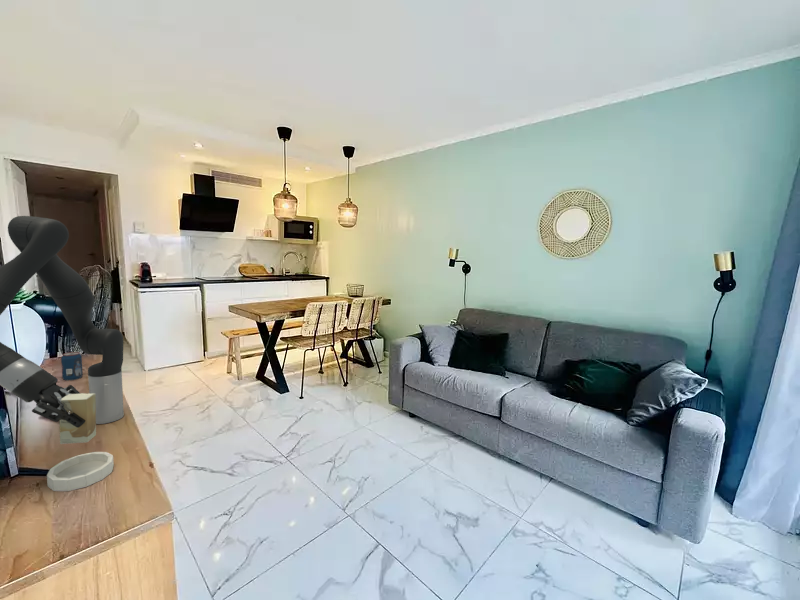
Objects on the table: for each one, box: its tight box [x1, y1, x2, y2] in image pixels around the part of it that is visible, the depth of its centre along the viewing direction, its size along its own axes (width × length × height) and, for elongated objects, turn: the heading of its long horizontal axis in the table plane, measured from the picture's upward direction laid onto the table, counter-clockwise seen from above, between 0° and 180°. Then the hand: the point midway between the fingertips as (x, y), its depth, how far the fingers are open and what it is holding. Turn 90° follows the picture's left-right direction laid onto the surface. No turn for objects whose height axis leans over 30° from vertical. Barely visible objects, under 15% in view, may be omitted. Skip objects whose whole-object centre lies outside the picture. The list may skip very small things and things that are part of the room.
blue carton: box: [60, 351, 84, 382], centre depth 163 cm, size 7×7×12 cm
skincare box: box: [58, 392, 97, 445], centre depth 94 cm, size 6×4×12 cm
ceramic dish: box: [46, 451, 115, 492], centre depth 95 cm, size 13×13×3 cm
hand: (87, 420), depth 94 cm, fingers closed on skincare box, 4 cm apart
